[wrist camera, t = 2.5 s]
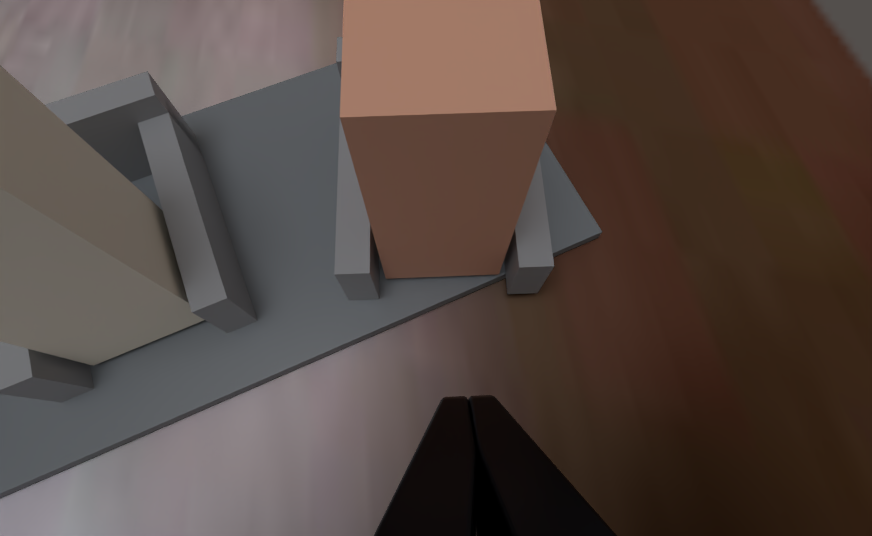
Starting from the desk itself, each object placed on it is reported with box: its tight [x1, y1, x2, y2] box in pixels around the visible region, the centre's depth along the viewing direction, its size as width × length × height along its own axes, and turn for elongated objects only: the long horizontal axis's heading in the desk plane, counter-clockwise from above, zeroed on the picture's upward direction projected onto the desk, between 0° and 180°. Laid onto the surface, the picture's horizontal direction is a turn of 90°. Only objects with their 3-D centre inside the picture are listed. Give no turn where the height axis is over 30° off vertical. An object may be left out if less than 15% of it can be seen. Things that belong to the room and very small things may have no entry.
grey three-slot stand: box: [0, 37, 602, 498], centre depth 18 cm, size 14×36×5 cm, turn 114°
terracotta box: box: [340, 0, 556, 279], centre depth 16 cm, size 4×4×10 cm
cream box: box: [0, 66, 204, 366], centre depth 15 cm, size 4×4×10 cm
